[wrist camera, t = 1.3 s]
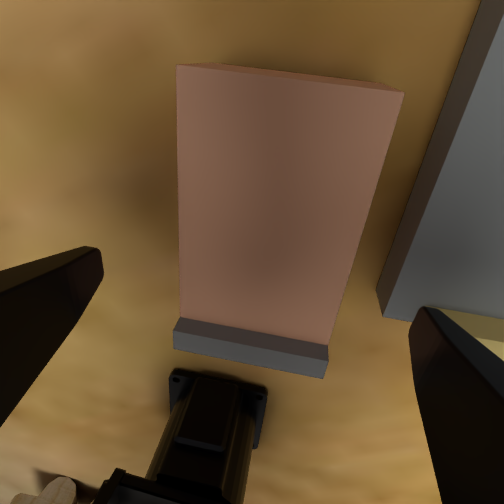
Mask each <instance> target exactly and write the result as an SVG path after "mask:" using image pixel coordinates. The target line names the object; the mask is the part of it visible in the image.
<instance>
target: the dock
mask: <svg viewBox="0 0 504 504" xmlns="http://www.w3.org/2000/svg"><path fill="white" fill-rule="evenodd" d="M376 293H377V297H378V301H379V304H380V308H381V312H382V316H383V317H387V318H392V319H398V320H403V321H409V322H413V320H414V318H415V316H416V314H417V312H418V310H419V308H420V307H422V306H426V307H432V308H437V309H439V310H440V311H442V312H443V313H444V314H445V315H447V316H448V317H449V318H450V319H452V320H453V321H454V322H455V323H457V324H458V325H459V326H461V327H462V328H463V329H464V330H466V331H467V332H468V333H469V334H471V335H472V336H473V337H474V338H476V339H477V340H478V341H479V342H481V343H482V344H483V345H484V346H486V347H487V348H488V349H489V350H491V351H492V352H493V353H494V354H496V355H497V356H498V357H499V358H501V359H502V360H503V361H504V0H482V1H481V4H480V6H479V9H478V12H477V15H476V17H475V20H474V23H473V25H472V28H471V31H470V34H469V36H468V39H467V42H466V45H465V47H464V50H463V53H462V56H461V58H460V61H459V64H458V66H457V69H456V72H455V75H454V77H453V80H452V83H451V86H450V88H449V91H448V94H447V97H446V99H445V102H444V105H443V108H442V110H441V113H440V116H439V118H438V121H437V124H436V127H435V129H434V132H433V135H432V138H431V140H430V143H429V146H428V149H427V151H426V154H425V157H424V159H423V162H422V165H421V168H420V170H419V173H418V176H417V179H416V181H415V184H414V187H413V190H412V192H411V195H410V198H409V201H408V203H407V206H406V209H405V211H404V214H403V217H402V220H401V222H400V225H399V228H398V231H397V233H396V236H395V239H394V242H393V244H392V247H391V250H390V252H389V255H388V258H387V261H386V263H385V266H384V269H383V272H382V274H381V277H380V280H379V283H378V285H377V288H376Z"/></svg>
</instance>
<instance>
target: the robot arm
mask: <svg viewBox="0 0 504 504" xmlns="http://www.w3.org/2000/svg"><path fill="white" fill-rule="evenodd" d="M103 276H104V269H103V263H102V256H101V252H100V250H99V249H98V248H94V247H89V246H82V247H79V248H75V249H72V250H69V251H65V252H62V253H59V254H55V255H52V256H49V257H45V258H42V259H39V260H35V261H32V262H29V263H25V264H22V265H19V266H15V267H12V268H9V269H5V270H2V271H0V427H1V426H2V424H3V423H4V422H5V420H6V419H7V418H8V416H9V415H10V414H11V412H12V411H13V410H14V408H15V407H16V405H17V404H18V403H19V401H20V400H21V399H22V397H23V396H24V395H25V393H26V392H27V390H28V389H29V388H30V386H31V385H32V384H33V382H34V381H35V380H36V378H37V377H38V376H39V374H40V373H41V371H42V370H43V369H44V367H45V366H46V365H47V363H48V362H49V361H50V359H51V358H52V356H53V355H54V354H55V352H56V351H57V350H58V348H59V347H60V346H61V344H62V343H63V342H64V340H65V339H66V337H67V336H68V335H69V333H70V332H71V331H72V329H73V328H74V326H75V325H76V324H77V322H78V320H79V319H80V317H81V316H82V314H83V312H84V311H85V309H86V307H87V305H88V304H89V302H90V300H91V299H92V297H93V295H94V293H95V292H96V290H97V288H98V286H99V285H100V283H101V281H102V279H103ZM408 338H409V346H410V355H411V363H412V372H413V380H414V387H415V392H416V397H417V401H418V405H419V410H420V414H421V418H422V422H423V426H424V430H425V434H426V439H427V443H428V447H429V451H430V455H431V459H432V463H433V468H434V472H435V476H436V480H437V484H438V488H439V492H440V496H441V501H442V504H504V361H503V360H502V359H501V358H499V357H498V356H497V355H496V354H494V353H493V352H492V351H491V350H489V349H488V348H487V347H486V346H484V345H483V344H482V343H481V342H479V341H478V340H477V339H476V338H474V337H473V336H472V335H471V334H469V333H468V332H467V331H466V330H464V329H463V328H462V327H461V326H459V325H458V324H457V323H455V322H454V321H453V320H452V319H450V318H449V317H448V316H447V315H445V314H444V313H443V312H442V311H440V310H439V309H437V308H432V307H426V306H422V307H420V308H419V310H418V312H417V314H416V316H415V318H414V320H413V322H412V324H411V327H410V329H409V334H408ZM169 393H170V417H169V420H168V422H167V425H166V427H165V430H164V432H163V435H162V437H161V439H160V442H159V444H158V447H157V449H156V452H155V454H154V457H153V459H152V462H151V464H150V466H149V469H148V471H147V474H146V476H145V478H142V477H139V476H135V475H132V474H129V473H126V470H123V469H119V468H116V469H115V470H114V472H113V474H112V475H111V477H110V479H109V480H104V482H103V484H102V486H101V488H100V490H99V492H98V494H97V496H96V498H95V499H94V501H93V503H92V504H243V502H244V496H245V490H246V483H247V477H248V471H249V465H250V459H251V453H252V449H256V448H257V447H258V443H259V438H260V433H261V428H262V422H263V417H264V412H265V407H266V402H267V396H268V392H267V390H266V389H265V388H262V387H258V386H253V385H248V384H244V383H239V382H234V381H229V380H224V379H220V378H215V377H210V376H205V375H200V374H196V373H191V372H186V371H181V370H173V371H172V372H171V374H170V376H169Z"/></svg>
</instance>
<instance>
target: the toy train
mask: <svg viewBox="0 0 504 504" xmlns="http://www.w3.org/2000/svg"><path fill="white" fill-rule="evenodd" d="M93 501H94V500H93ZM93 501H92V502H91V504H92V503H93ZM10 504H77V495H76V484H75V483H74V482H73V481H72V480H71V479H70V478H69V477H58V478H56V479H55V480H53V481H52V482H50V483H49V484H48V485H47V486H46V487H45V489H44V490H43V491H42V492H41V494H40V495H39V496H38V497H37V496H32V495H27V494H23V493H20V494H18V495H16V496H15V497H14V498H13V499H12V501H11V503H10Z"/></svg>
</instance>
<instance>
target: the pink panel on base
mask: <svg viewBox="0 0 504 504" xmlns="http://www.w3.org/2000/svg"><path fill="white" fill-rule="evenodd" d="M404 95H405V93H404V92H402V91H399V90H397V89H395V88H392V87H390V86H387V85H385V84H382V83H376V82H368V81H360V80H351V79H343V78H335V77H326V76H318V75H310V74H302V73H293V72H285V71H277V70H269V69H260V68H252V67H244V66H235V65H227V64H219V63H197V64H179V65H176V99H177V160H178V220H179V281H180V318H179V320H178V322H177V324H176V326H175V328H174V330H173V348H174V349H177V350H182V351H187V352H191V353H196V354H201V355H206V356H211V357H216V358H221V359H226V360H231V361H236V362H241V363H246V364H251V365H256V366H261V367H266V368H271V369H276V370H280V371H285V372H290V373H295V374H300V375H305V376H310V377H315V378H320V379H323V377H324V374H325V371H326V368H327V365H328V362H329V359H328V344H329V340H330V337H331V334H332V331H333V327H334V324H335V321H336V317H337V314H338V311H339V308H340V304H341V301H342V298H343V295H344V291H345V288H346V285H347V281H348V278H349V275H350V272H351V268H352V265H353V262H354V259H355V255H356V252H357V249H358V245H359V242H360V239H361V236H362V232H363V229H364V226H365V223H366V219H367V216H368V213H369V209H370V206H371V203H372V200H373V196H374V193H375V190H376V187H377V183H378V180H379V177H380V173H381V170H382V167H383V164H384V160H385V157H386V154H387V151H388V147H389V144H390V141H391V137H392V134H393V131H394V128H395V124H396V121H397V118H398V115H399V111H400V108H401V105H402V101H403V98H404Z"/></svg>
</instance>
